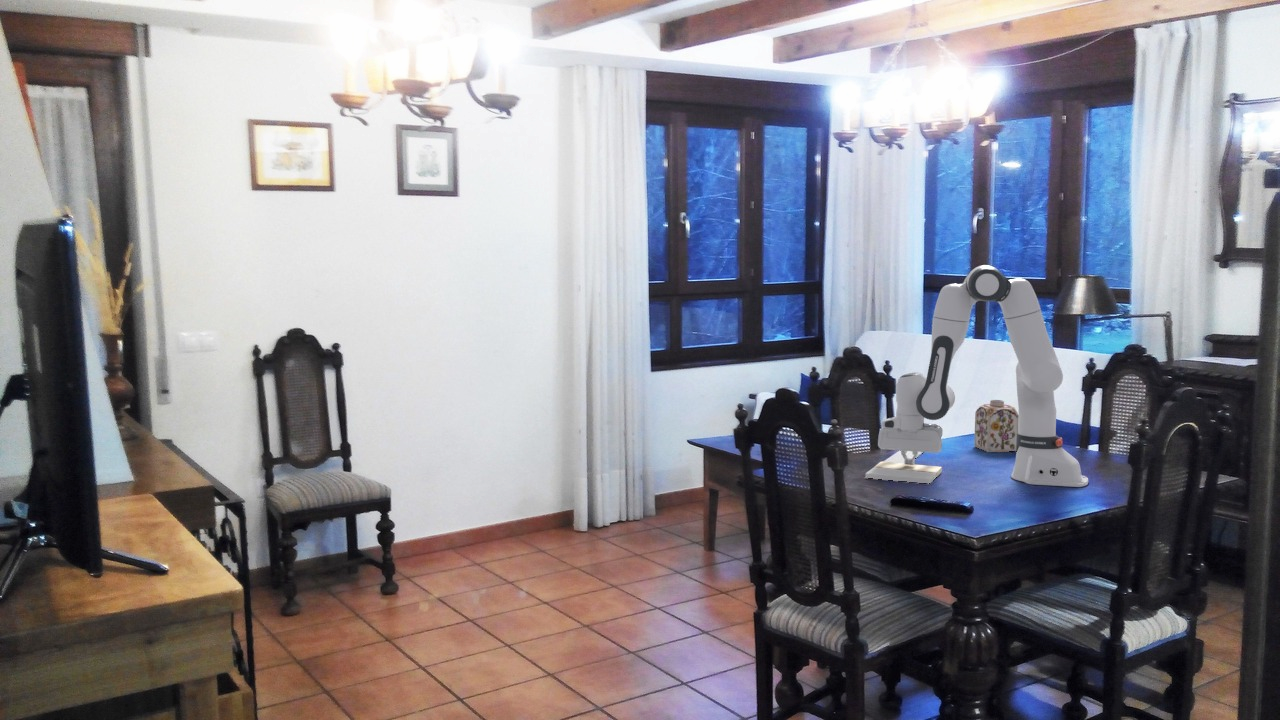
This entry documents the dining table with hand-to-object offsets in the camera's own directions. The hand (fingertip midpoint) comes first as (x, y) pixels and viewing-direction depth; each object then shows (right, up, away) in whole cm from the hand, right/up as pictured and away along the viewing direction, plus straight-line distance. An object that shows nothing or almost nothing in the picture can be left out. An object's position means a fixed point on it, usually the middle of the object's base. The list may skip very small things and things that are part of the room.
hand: (909, 464), depth 337 cm
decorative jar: (+41, +1, +37) cm, 56 cm away
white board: (-5, -4, -9) cm, 11 cm away
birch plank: (-1, -2, 0) cm, 2 cm away
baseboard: (+3, -1, +22) cm, 23 cm away
